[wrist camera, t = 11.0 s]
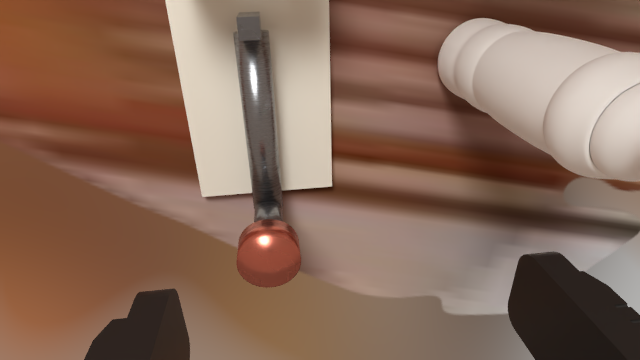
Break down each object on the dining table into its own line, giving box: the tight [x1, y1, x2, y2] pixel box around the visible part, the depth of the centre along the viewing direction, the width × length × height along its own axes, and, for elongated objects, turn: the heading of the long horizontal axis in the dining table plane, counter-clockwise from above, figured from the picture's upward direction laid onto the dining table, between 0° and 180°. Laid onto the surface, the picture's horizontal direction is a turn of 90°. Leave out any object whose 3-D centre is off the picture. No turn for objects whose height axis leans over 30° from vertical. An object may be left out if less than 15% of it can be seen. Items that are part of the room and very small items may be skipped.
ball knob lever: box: [233, 12, 301, 287], centre depth 33 cm, size 20×5×10 cm, turn 2°
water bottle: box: [438, 18, 640, 181], centre depth 27 cm, size 7×7×25 cm
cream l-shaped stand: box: [165, 0, 332, 197], centre depth 32 cm, size 26×13×9 cm, turn 2°
